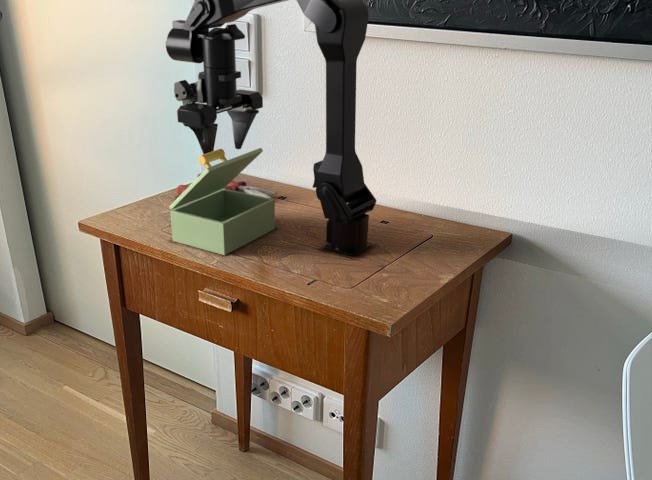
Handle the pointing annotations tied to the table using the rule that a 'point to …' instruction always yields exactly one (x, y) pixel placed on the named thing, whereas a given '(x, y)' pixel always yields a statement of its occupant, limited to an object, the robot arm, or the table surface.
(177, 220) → the box
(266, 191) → the pliers
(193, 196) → the lid
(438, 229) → the table surface
